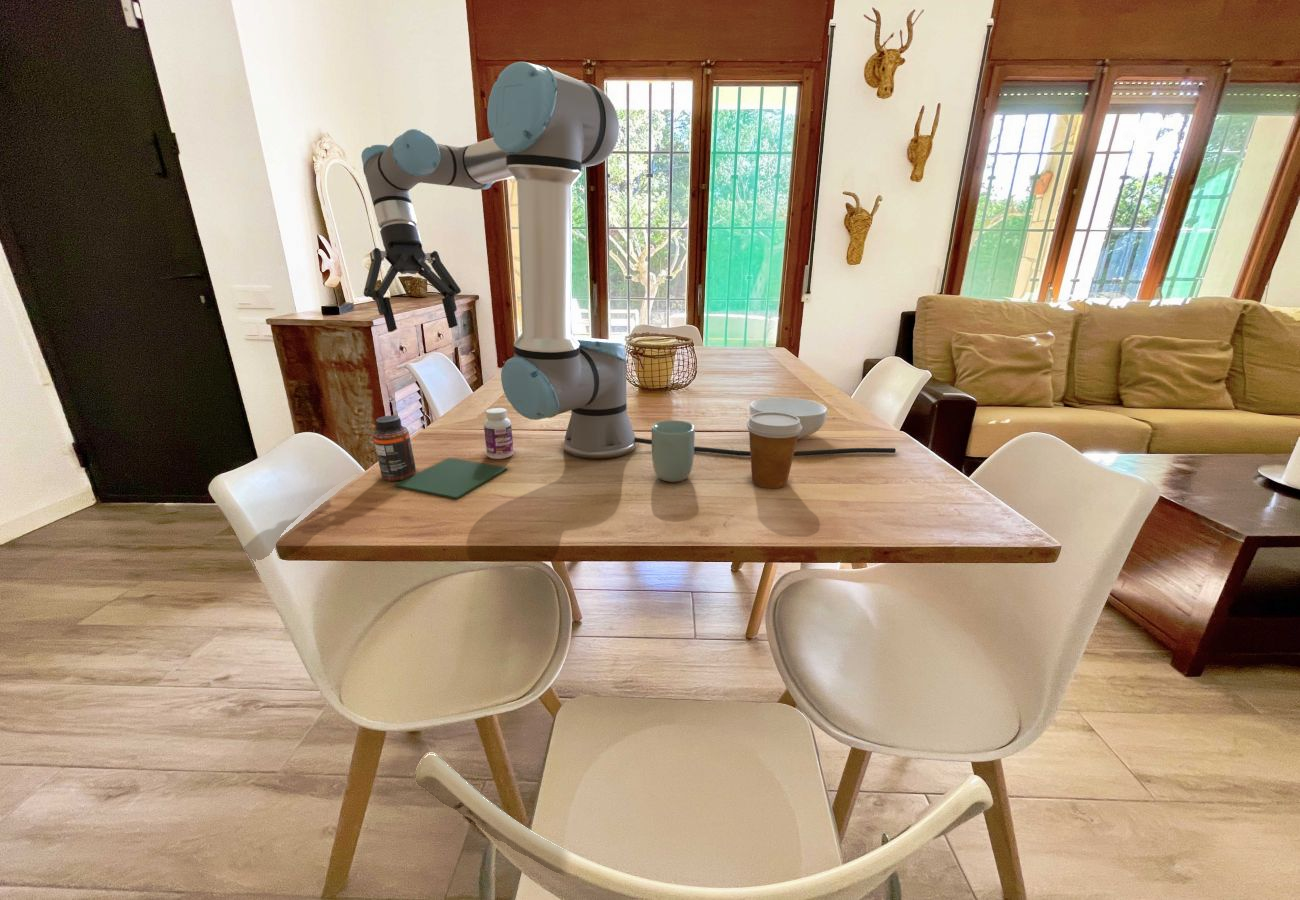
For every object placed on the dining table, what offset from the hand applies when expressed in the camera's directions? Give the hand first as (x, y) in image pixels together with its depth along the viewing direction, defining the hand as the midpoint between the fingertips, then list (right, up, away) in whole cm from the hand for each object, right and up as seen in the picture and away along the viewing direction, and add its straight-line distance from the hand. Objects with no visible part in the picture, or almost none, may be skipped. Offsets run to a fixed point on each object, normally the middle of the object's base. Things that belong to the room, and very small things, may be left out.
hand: (424, 328), depth 112 cm
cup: (+53, -32, -16) cm, 64 cm away
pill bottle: (+18, -28, -5) cm, 33 cm away
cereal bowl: (+80, -23, +7) cm, 84 cm away
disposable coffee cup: (+71, -32, -18) cm, 80 cm away
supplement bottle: (+2, -31, -15) cm, 35 cm away
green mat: (+12, -31, -16) cm, 37 cm away
